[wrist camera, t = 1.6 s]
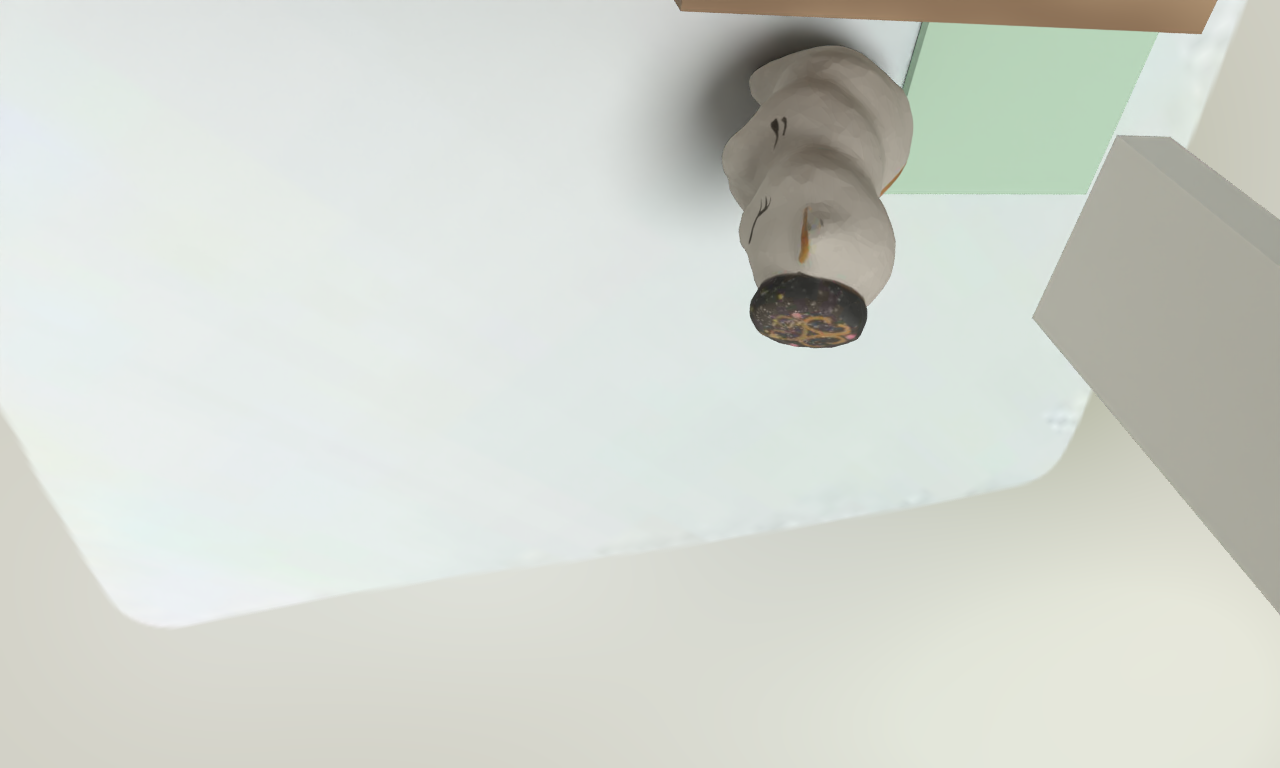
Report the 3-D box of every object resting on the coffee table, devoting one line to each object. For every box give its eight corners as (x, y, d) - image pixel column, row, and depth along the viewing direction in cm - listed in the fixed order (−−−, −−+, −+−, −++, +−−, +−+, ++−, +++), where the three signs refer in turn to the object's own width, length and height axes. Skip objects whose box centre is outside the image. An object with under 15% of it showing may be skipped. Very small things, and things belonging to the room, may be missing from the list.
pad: (946, -60, 42) (952, -55, 42) (1183, -44, 45) (1191, -40, 44) (873, 188, 50) (878, 193, 49) (1079, 188, 52) (1085, 194, 52)
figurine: (669, 37, 43) (767, 213, 32) (888, 3, 44) (1058, 163, 33) (679, 208, 49) (764, 409, 37) (872, 176, 49) (1012, 362, 38)
